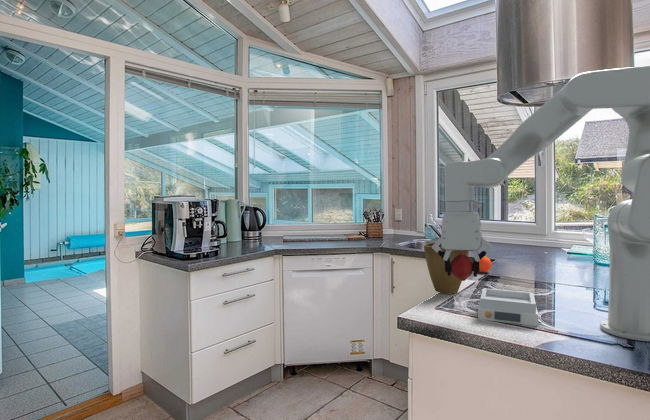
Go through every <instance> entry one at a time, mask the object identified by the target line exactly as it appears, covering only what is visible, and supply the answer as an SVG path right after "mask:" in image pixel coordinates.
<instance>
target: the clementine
mask: <svg viewBox="0 0 650 420" xmlns="http://www.w3.org/2000/svg"><path fill="white" fill-rule="evenodd" d="M479 264H480V273H482V274H483V273H487V272H490V271H491V269H492V266H493V265H492V260H491V259H490V258H489V256H486V255H485V256H484V257H483V258H482V259H481V260H480V261H479Z"/></svg>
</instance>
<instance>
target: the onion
mask: <svg viewBox="0 0 650 420" xmlns="http://www.w3.org/2000/svg"><path fill="white" fill-rule="evenodd" d="M451 271H452V273H453V275H454V276H455V277H457V278H458V279H460V280H461V281H462V282H465V281H467V279H468V278H469V277H471V275H473V261H472V259H471V258H470V257H469V256H468V257H467V256H466V255H465V252H464V251H461V252H460V253H459V254H458V255H457V256H456V257H455V258H454V259H453V260H452V262H451Z"/></svg>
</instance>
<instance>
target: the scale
mask: <svg viewBox="0 0 650 420" xmlns="http://www.w3.org/2000/svg"><path fill="white" fill-rule="evenodd" d="M481 290H482V291H481V295H480V300H479V303H478V307H477V320H483V321H491V322H499V323H508V324H516V325H524V326H533V327H538V326H539V312H538V309H537V302H536V298H535V295H534V292H530V291H520V290H510V289H509V290H507V289H498V288H497V289H496V288H486V287H482V289H481Z"/></svg>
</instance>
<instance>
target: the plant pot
mask: <svg viewBox="0 0 650 420" xmlns="http://www.w3.org/2000/svg"><path fill="white" fill-rule="evenodd" d="M436 242H437V241H435V242H426V243H424V244H423V249H424V256H425V257H424V258H425V261H426V266H427V269H428V273H429V276H430V280H431V282H432V285H433V288H434V291H435V292H437V293H441V294H449V295H450V294H457V293H458V292H459V289H460V287H461V285H462V282H463V281H461V280H460V279H458V278H457V277H455V276H454V275H453V273H452V274H451V275H450V276H448V273H447V272H445V260H444V259H443V258H442V257H441V256H440V255H439V254H438V253H437V252H436V251H435V250H434V249H432V246H433V245H434V244H435V243H436ZM439 248H440V249H441V250H443V251H444V252H446V250H444V249H443V248H442V246H441V244H440V245H439ZM460 252H461V251H452V252H451V254H450V259H451V262H452V260H453V259H454V258H455V257H456V256H457V255H458V254H459V253H460ZM464 252H465V255H466V256H467V257H469V253H470V251H464Z"/></svg>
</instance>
